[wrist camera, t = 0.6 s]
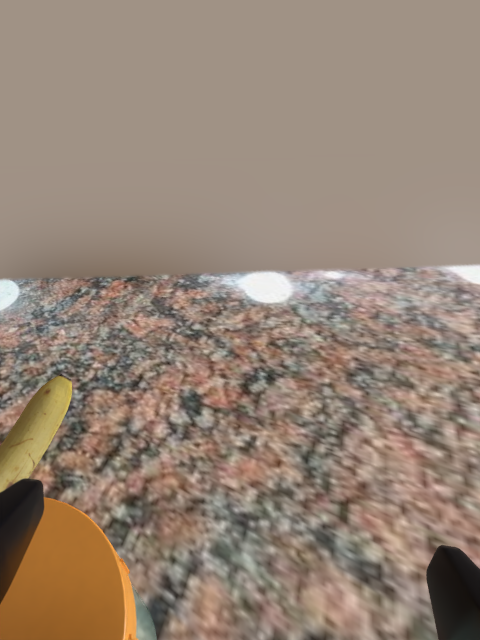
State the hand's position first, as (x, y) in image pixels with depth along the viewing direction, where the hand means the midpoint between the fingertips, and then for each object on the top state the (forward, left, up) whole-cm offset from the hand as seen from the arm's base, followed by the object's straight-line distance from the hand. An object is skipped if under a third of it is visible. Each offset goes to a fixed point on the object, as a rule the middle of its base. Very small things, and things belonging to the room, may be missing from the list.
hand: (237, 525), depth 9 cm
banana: (+5, +13, -16) cm, 21 cm away
